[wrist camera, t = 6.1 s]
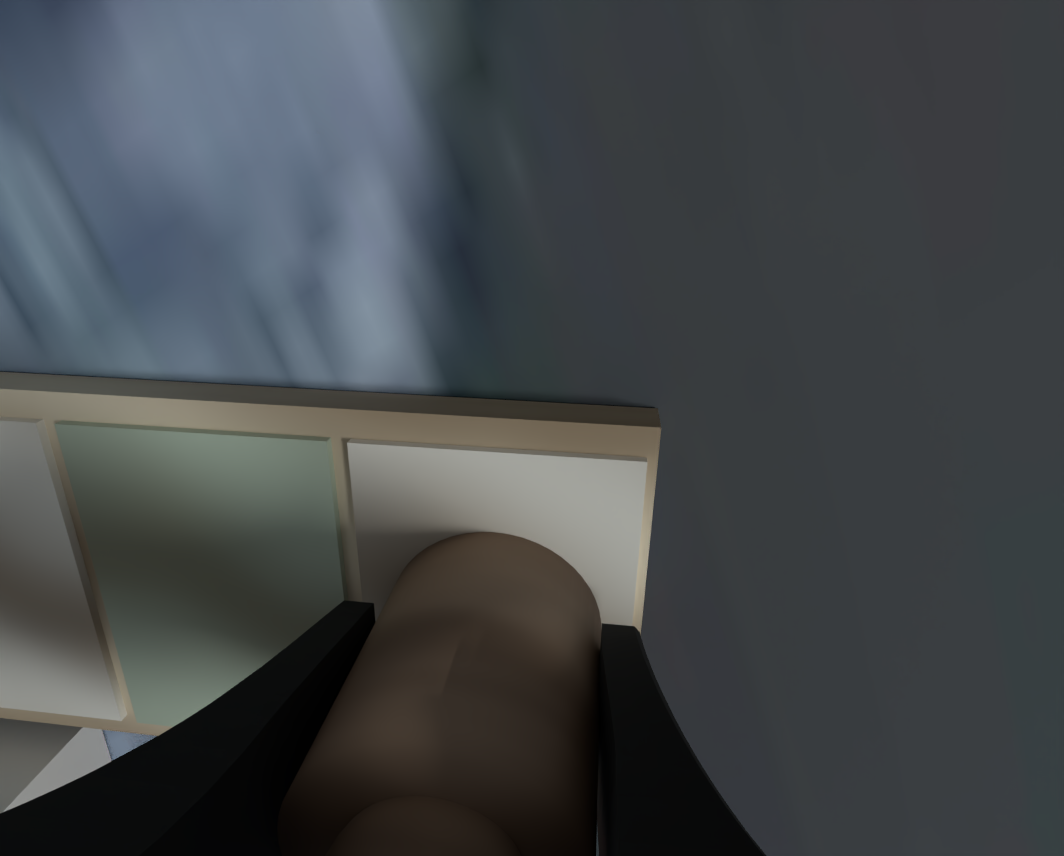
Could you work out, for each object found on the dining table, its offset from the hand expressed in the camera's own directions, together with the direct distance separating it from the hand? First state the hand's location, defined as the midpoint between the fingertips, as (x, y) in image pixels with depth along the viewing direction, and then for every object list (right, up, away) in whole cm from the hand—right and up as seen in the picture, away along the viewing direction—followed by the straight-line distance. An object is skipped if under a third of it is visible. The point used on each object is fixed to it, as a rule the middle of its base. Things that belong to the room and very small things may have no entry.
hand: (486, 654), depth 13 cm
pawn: (0, 0, +1) cm, 1 cm away
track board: (-9, +1, +3) cm, 9 cm away
